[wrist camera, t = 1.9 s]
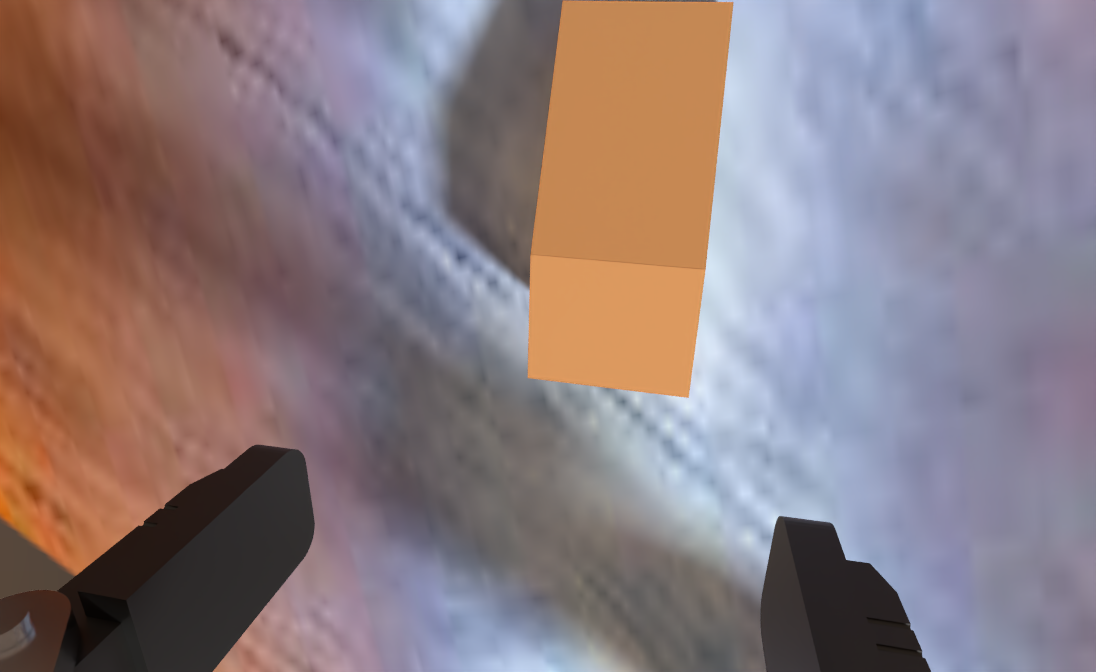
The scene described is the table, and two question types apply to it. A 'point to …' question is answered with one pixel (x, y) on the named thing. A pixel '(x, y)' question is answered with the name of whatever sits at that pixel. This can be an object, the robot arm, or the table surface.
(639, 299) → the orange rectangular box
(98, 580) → the robot arm
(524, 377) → the table surface
